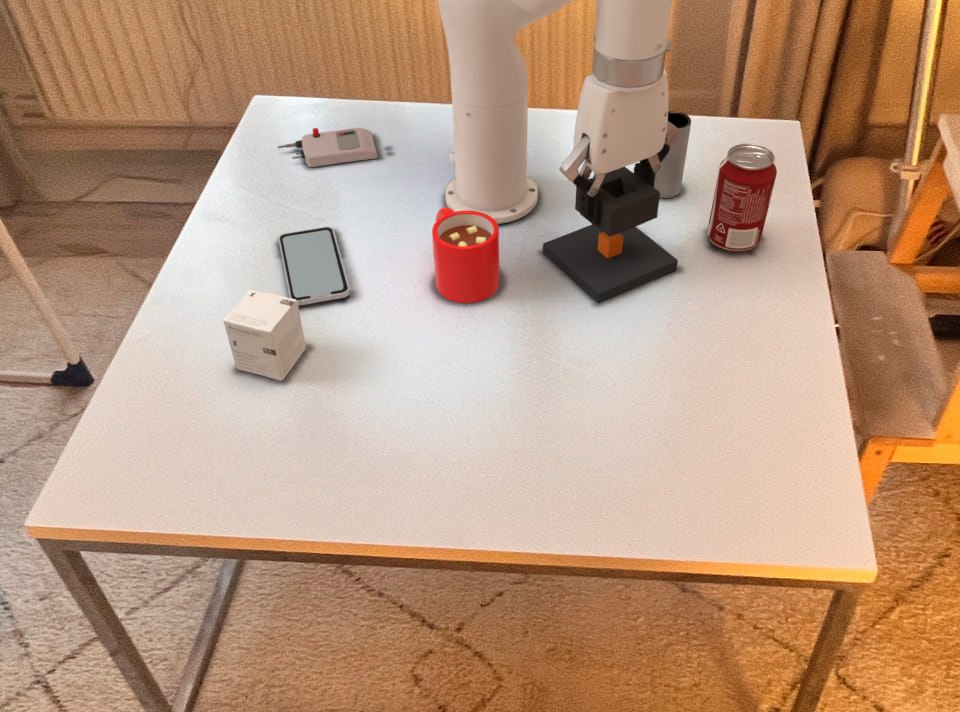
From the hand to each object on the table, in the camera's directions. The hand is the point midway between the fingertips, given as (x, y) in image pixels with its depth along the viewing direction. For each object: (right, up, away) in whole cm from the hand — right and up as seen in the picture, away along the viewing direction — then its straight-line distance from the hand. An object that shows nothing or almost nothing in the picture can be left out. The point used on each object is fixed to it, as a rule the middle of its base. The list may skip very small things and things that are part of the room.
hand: (615, 207), depth 110 cm
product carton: (-40, -19, -5) cm, 44 cm away
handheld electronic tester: (-38, +15, +25) cm, 48 cm away
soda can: (+16, -2, +9) cm, 18 cm away
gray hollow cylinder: (+9, +7, +17) cm, 20 cm away
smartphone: (-37, -6, +7) cm, 38 cm away
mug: (-19, -7, +5) cm, 21 cm away
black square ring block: (0, -1, +1) cm, 1 cm away
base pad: (0, -5, +6) cm, 8 cm away
